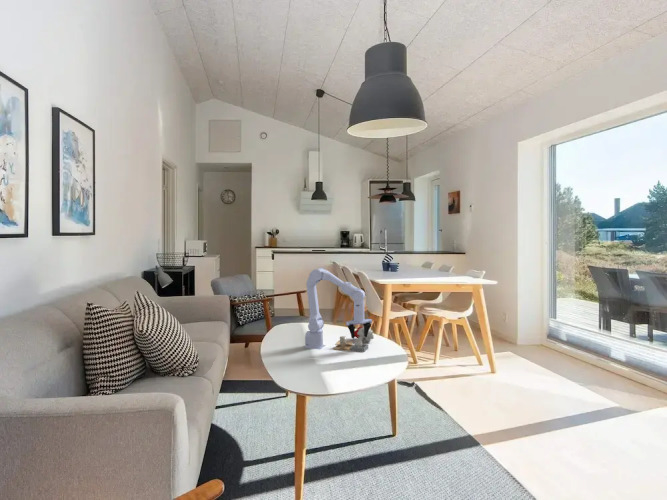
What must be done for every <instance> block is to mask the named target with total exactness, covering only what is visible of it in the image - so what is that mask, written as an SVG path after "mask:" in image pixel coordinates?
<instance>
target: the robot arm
mask: <svg viewBox="0 0 667 500" xmlns="http://www.w3.org/2000/svg"><path fill="white" fill-rule="evenodd" d="M321 281H329V282H331V283H333V284H334V285H336V286H338V287H339V288H340V289H341V291H342V292H343V293H344V294H346V295H348V296H349V297H351V298H352V299H353V320H348V321H347V320H346V322H345V325H346V326H347V328H348V330H349V333H350V336H351V337H350V338H351V339H355V337H354V331H356V326H357V325H363V326H364V336H365V337H367V335H368V331H369V329H371V327H372V324H373V319H371V318H365V317H366V316H365V313H366V312H365V298H366V292H365V291H364V290H363V289H361V288H359V287H356V286H354V285H353V284H352V282H351V281H345V282H344V280H341V279H340V278H338V277H337V276H336V275H335V274H333V273H332V272H331V271H329V270H327V269H325V268H324V267H318V268H314V269H313V270H311V271H310V272H309V276H308V278H307V280H306V282H305V283H306V284H305V285H306V293H307V300H308V301H307V302H308V307H309V318H308V325H307V328H308V330H307V331H306V332H305V335H304V344H305V345H304V349H313V350H321V349H322V348H324V347H326V344H324V339H323V338H324V335H323V334H324V333H323V331H324V330H323V327H324V326H325V323H324V322H325V321H324V320H323V319H322V318H323V317H322V315H321V313H320V306H319V297H318V291H317V285H319V283H320V282H321ZM355 325H356V326H355Z"/></svg>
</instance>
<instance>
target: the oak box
mask: <svg viewBox="0 0 667 500" xmlns="http://www.w3.org/2000/svg"><path fill="white" fill-rule="evenodd" d="M354 344H355V343H352V344H346V347H345V348H341V347H340V344H338V345H336V346H334V347H333V349H334V350H335V351H336V350H337V351H343V352H344V351H346V352H347V351H348V352H350V351H351V346H353V345H354ZM351 352H352V351H351Z"/></svg>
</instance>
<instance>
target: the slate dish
mask: <svg viewBox="0 0 667 500" xmlns="http://www.w3.org/2000/svg"><path fill="white" fill-rule="evenodd" d="M353 344H354V345H353V346H351V352H360V353H364V352H366V351H367V350H369V344H368V343H367V344H363V343H362V348H360V347H356V342H355V343H353Z"/></svg>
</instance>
